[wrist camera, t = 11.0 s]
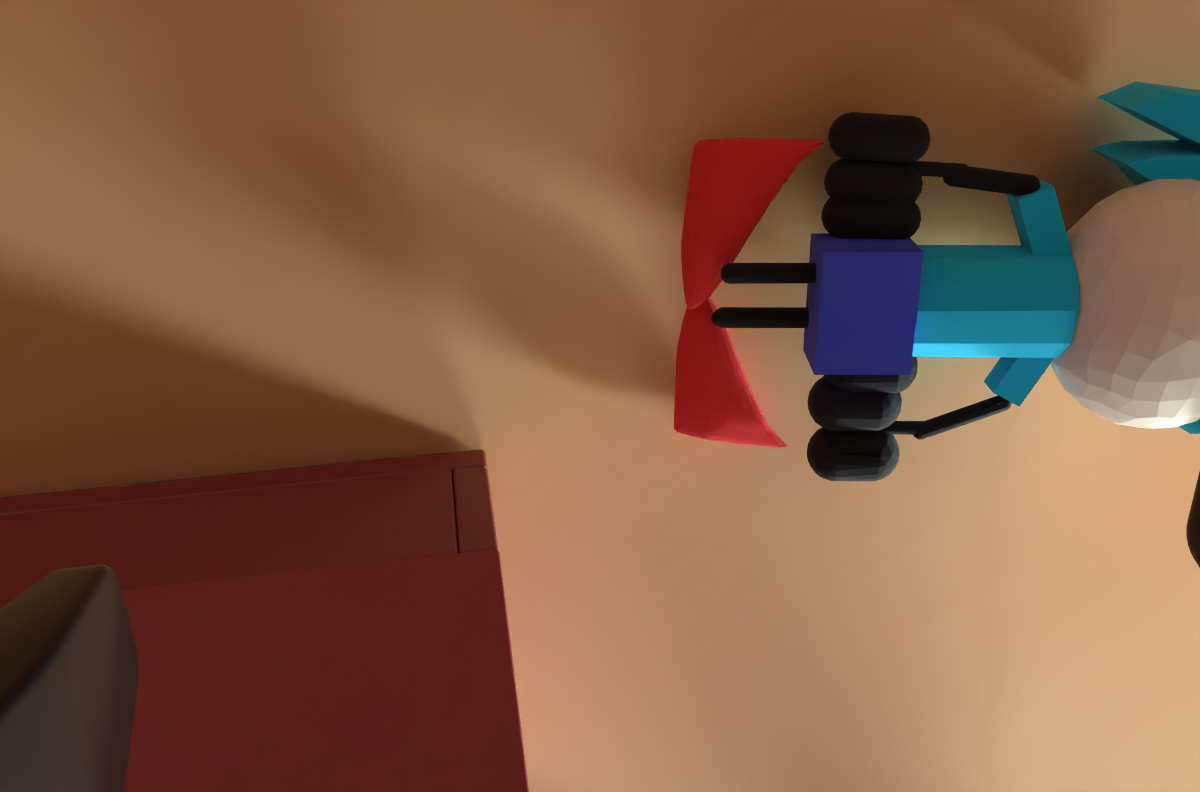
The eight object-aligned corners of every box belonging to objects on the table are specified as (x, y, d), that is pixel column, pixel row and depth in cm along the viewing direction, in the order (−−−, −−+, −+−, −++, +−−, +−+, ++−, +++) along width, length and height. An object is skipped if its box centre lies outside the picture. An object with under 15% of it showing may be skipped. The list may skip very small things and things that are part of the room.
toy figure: (669, 429, 26) (1349, 430, 25) (680, 535, 21) (1510, 539, 21) (676, 79, 23) (1440, 76, 23) (690, 114, 18) (1649, 111, 18)
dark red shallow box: (516, 832, 28) (532, 964, 25) (-198, 934, 26) (-283, 1093, 23) (484, 447, 23) (498, 548, 20) (-398, 535, 21) (-542, 664, 18)
